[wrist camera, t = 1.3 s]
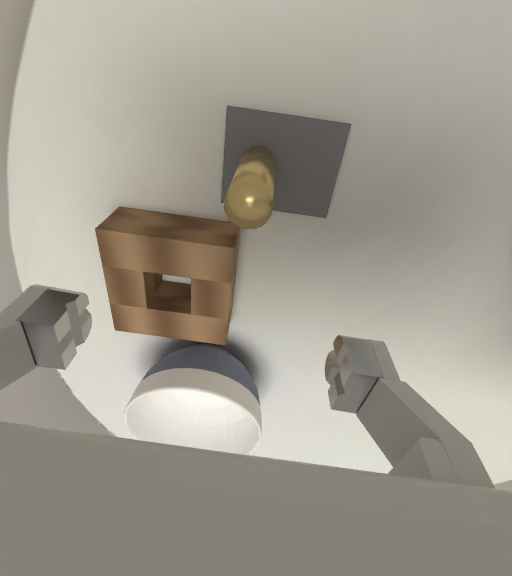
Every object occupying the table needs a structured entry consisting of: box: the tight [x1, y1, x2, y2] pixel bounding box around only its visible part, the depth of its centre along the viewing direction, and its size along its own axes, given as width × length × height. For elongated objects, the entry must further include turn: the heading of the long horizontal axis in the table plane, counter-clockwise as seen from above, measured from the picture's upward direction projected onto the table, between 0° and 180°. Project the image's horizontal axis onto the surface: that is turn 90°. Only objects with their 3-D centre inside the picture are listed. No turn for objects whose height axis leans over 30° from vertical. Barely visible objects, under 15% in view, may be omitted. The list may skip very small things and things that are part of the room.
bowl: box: [124, 344, 262, 455], centre depth 40 cm, size 16×16×10 cm
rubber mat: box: [221, 106, 351, 218], centre depth 28 cm, size 10×8×1 cm
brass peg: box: [224, 145, 275, 229], centre depth 23 cm, size 3×3×10 cm
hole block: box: [95, 207, 240, 345], centre depth 33 cm, size 12×12×5 cm
